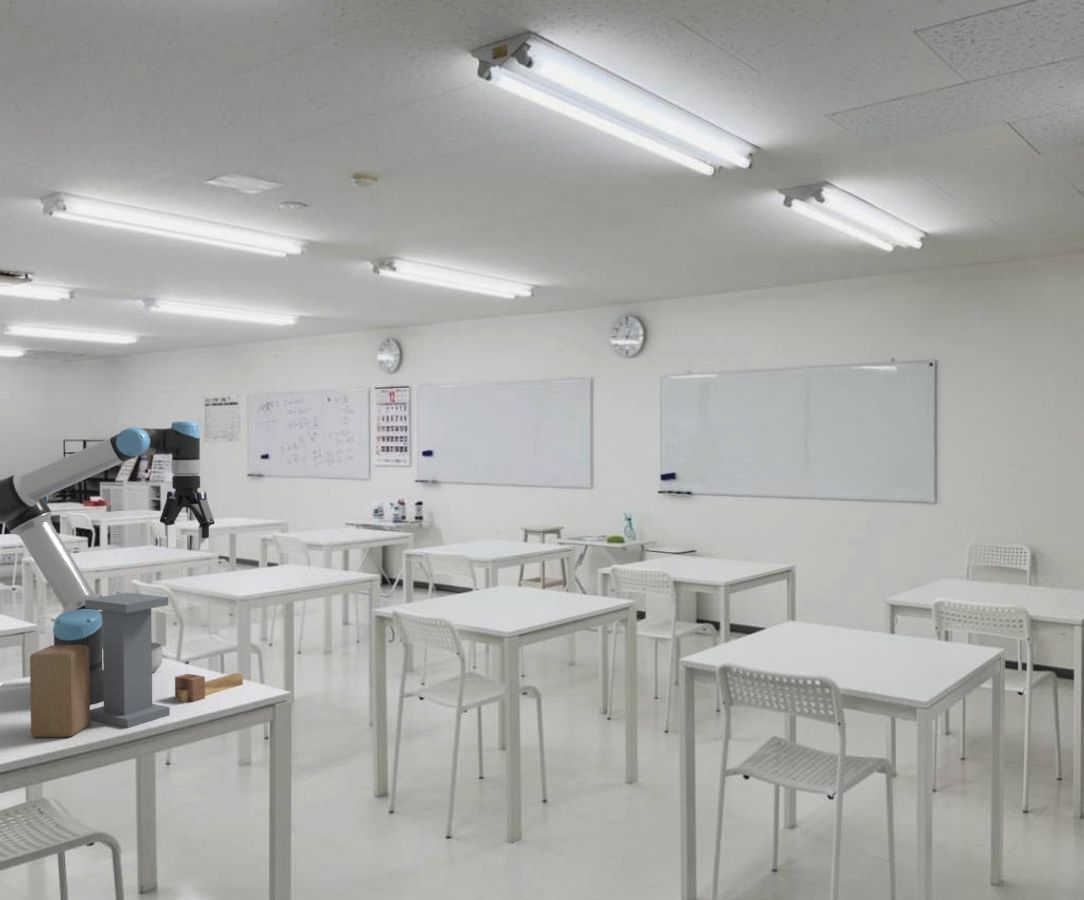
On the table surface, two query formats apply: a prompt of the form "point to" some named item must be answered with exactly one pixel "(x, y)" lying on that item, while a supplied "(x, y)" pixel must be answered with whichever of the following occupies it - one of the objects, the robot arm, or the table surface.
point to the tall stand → (127, 659)
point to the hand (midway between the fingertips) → (187, 548)
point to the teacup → (156, 655)
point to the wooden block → (59, 690)
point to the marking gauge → (203, 686)
